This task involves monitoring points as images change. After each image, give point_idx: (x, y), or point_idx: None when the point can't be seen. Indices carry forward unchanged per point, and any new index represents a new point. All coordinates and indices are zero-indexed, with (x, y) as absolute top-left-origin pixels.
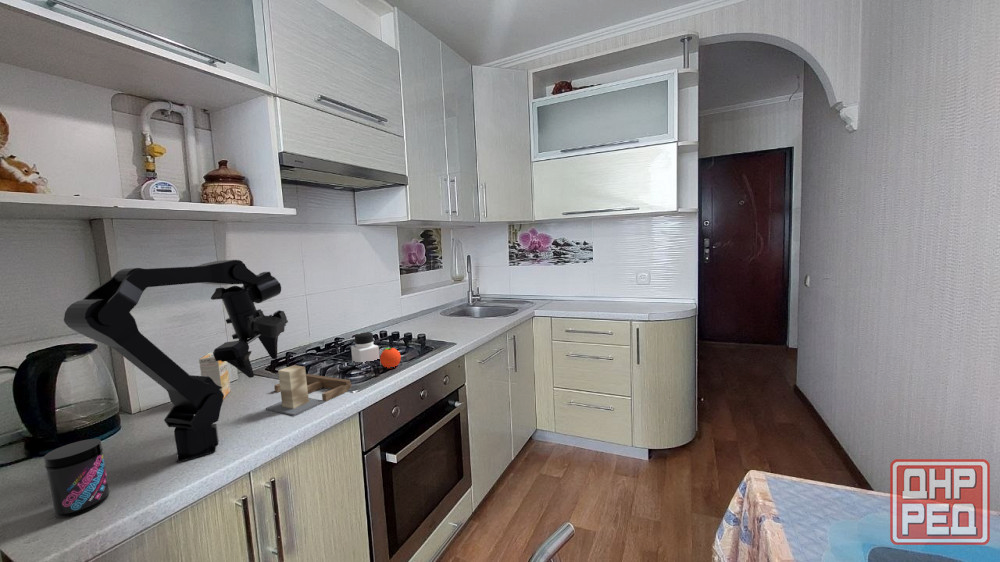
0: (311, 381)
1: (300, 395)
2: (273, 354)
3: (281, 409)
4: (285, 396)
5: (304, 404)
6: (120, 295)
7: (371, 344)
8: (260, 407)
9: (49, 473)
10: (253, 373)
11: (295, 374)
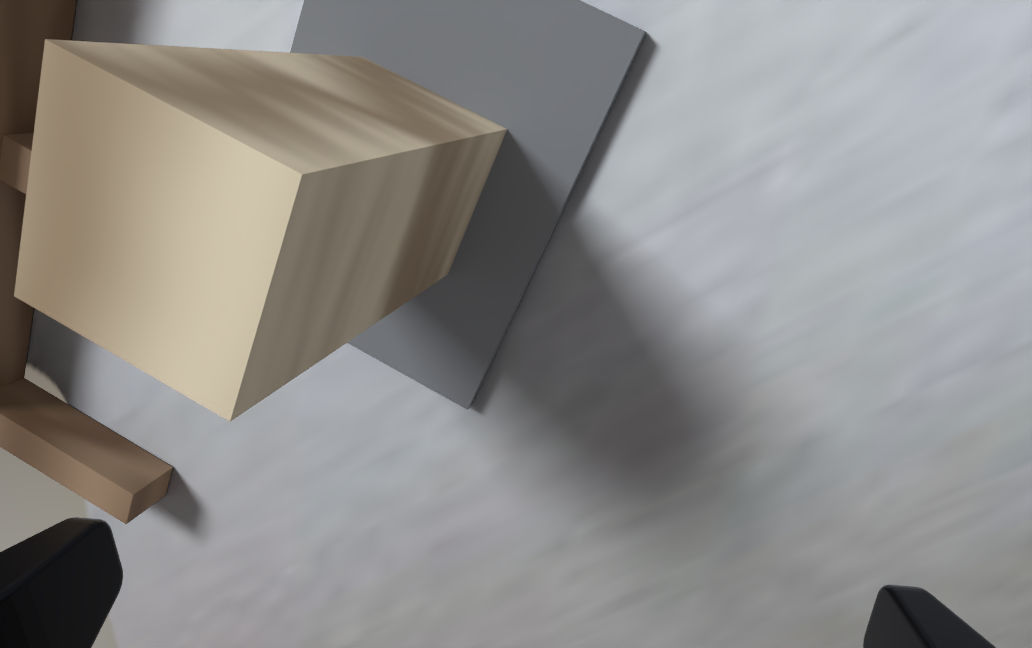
0: (4, 261)
1: (386, 94)
2: (37, 624)
3: (509, 248)
4: (428, 242)
5: (415, 71)
6: None
7: None
8: (430, 466)
9: None
10: (917, 629)
11: (258, 118)
